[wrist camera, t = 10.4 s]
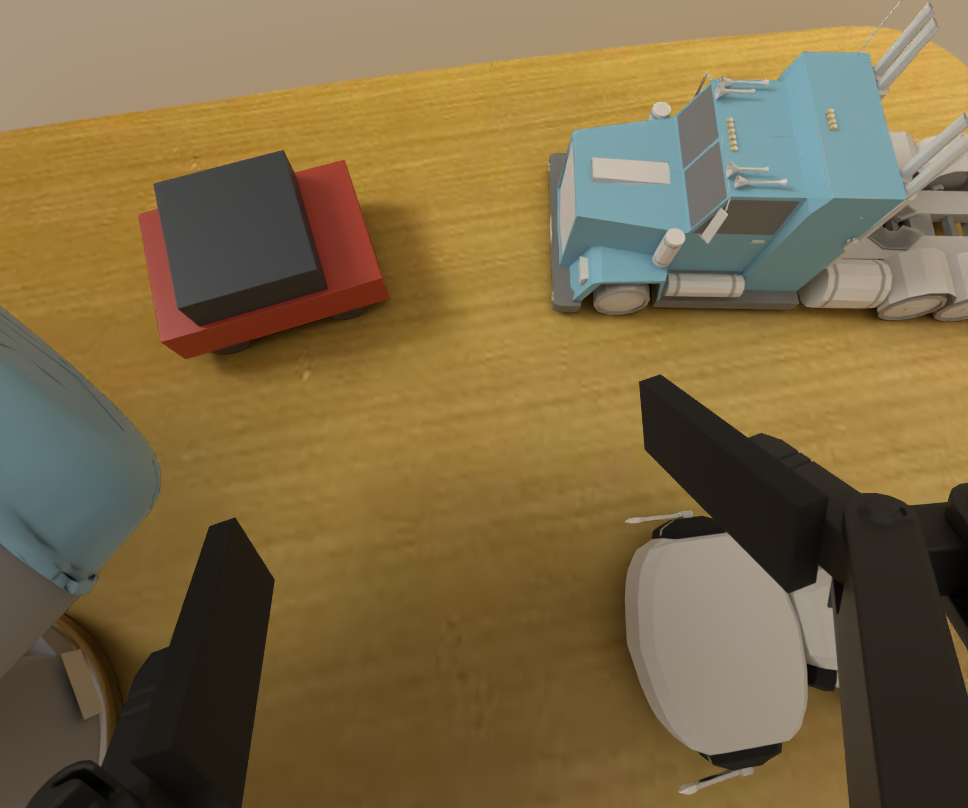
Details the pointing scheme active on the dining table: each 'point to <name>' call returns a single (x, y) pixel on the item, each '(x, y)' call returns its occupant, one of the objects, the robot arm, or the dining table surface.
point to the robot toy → (724, 644)
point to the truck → (768, 199)
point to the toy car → (256, 253)
